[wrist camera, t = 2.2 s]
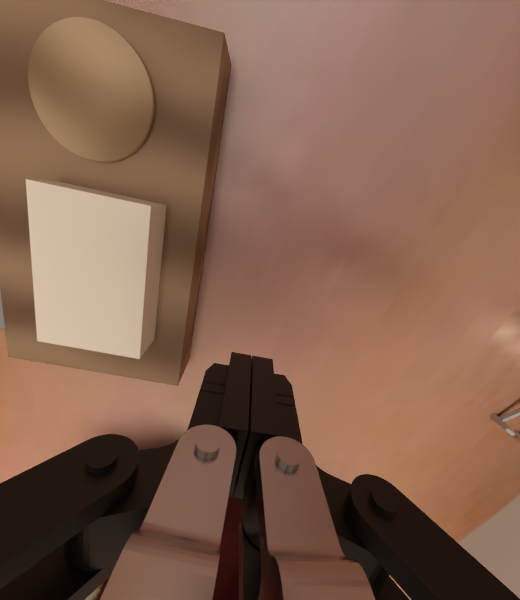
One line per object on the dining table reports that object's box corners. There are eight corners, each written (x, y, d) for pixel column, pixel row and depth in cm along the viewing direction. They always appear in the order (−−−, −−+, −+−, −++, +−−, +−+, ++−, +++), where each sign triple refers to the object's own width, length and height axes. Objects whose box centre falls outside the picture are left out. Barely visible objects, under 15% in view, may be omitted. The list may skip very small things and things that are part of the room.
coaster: (33, 8, 13) (24, 0, 13) (161, 43, 14) (157, 36, 13) (40, 148, 15) (31, 146, 15) (150, 173, 16) (146, 173, 15)
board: (24, 11, 16) (-37, -37, 13) (231, 65, 17) (224, 33, 14) (44, 334, 23) (8, 356, 20) (189, 359, 24) (177, 385, 21)
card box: (60, 181, 16) (25, 178, 13) (166, 204, 16) (150, 206, 14) (64, 323, 19) (37, 341, 16) (154, 339, 19) (139, 359, 17)
